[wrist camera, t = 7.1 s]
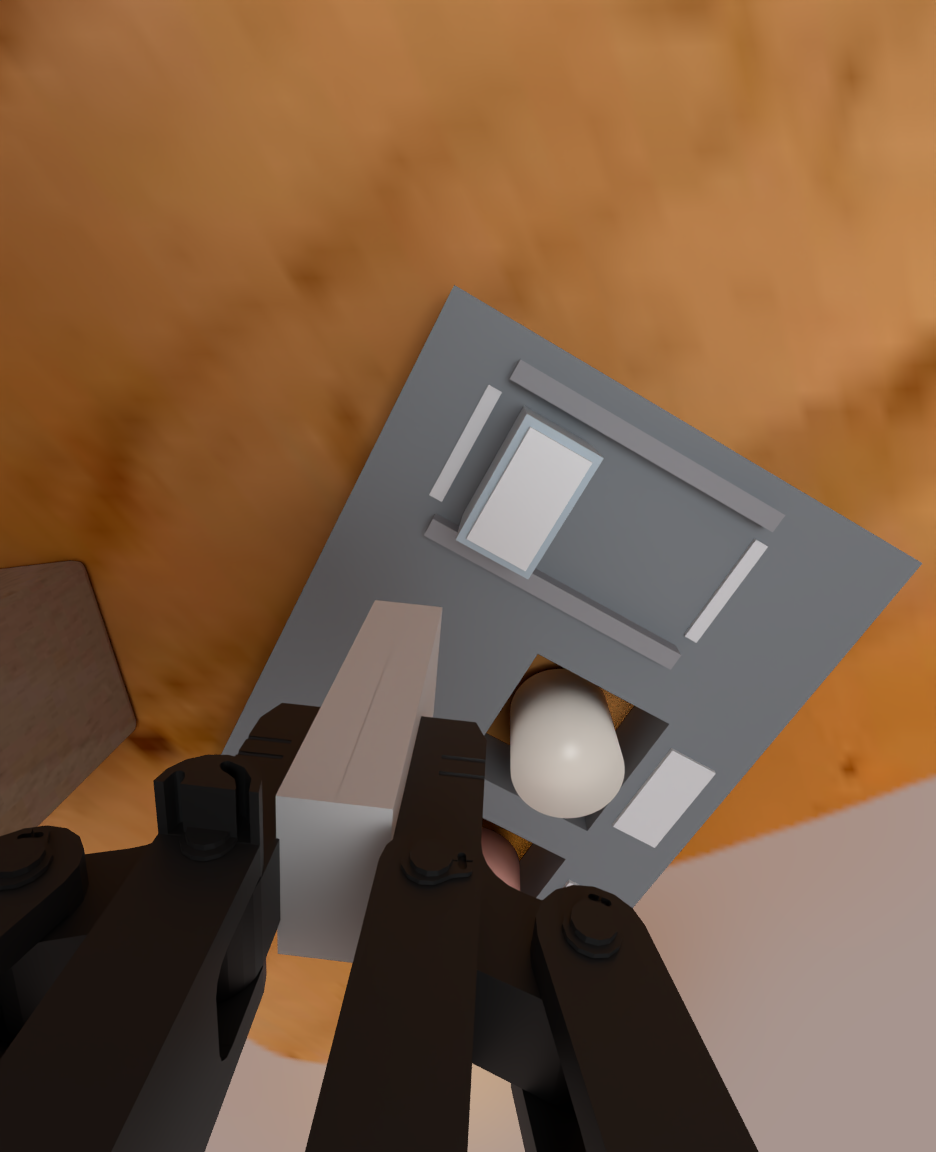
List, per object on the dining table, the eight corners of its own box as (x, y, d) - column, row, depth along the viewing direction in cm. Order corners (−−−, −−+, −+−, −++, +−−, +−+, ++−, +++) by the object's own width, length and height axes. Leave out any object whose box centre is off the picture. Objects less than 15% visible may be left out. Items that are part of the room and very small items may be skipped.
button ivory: (492, 727, 34) (490, 787, 29) (542, 652, 32) (547, 702, 28) (574, 769, 34) (585, 835, 30) (627, 697, 33) (647, 754, 28)
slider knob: (462, 514, 27) (454, 542, 23) (524, 405, 25) (527, 414, 21) (525, 549, 27) (528, 582, 23) (589, 443, 26) (605, 459, 22)
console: (224, 766, 37) (182, 826, 32) (461, 294, 28) (451, 282, 23) (558, 928, 39) (565, 1007, 34) (871, 537, 31) (937, 570, 26)
